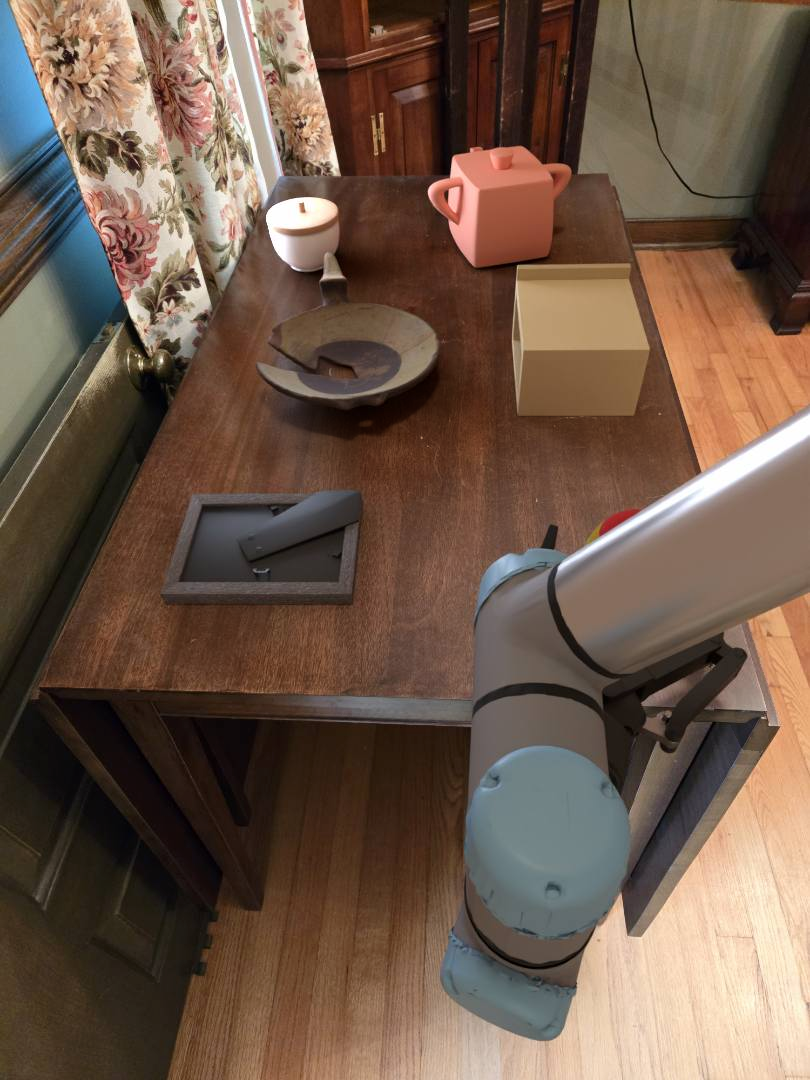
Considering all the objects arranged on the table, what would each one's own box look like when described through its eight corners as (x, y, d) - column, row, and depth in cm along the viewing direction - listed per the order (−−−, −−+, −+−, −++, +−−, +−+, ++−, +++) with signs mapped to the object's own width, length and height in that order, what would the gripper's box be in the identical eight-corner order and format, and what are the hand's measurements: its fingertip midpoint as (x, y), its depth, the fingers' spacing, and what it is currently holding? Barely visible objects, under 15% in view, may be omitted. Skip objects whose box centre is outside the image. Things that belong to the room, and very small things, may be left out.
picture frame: (363, 503, 77) (196, 504, 78) (361, 489, 75) (191, 491, 76) (352, 604, 68) (164, 604, 69) (350, 591, 66) (158, 591, 67)
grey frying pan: (237, 432, 86) (222, 378, 80) (305, 300, 105) (296, 249, 100) (424, 448, 82) (422, 393, 77) (457, 308, 102) (458, 256, 96)
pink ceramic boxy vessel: (581, 256, 110) (595, 159, 100) (442, 278, 108) (441, 181, 97) (536, 202, 123) (544, 112, 113) (410, 221, 121) (407, 130, 110)
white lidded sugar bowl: (301, 287, 108) (291, 224, 101) (261, 262, 113) (249, 201, 106) (357, 261, 112) (351, 200, 105) (316, 239, 118) (308, 179, 111)
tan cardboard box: (615, 339, 95) (630, 263, 87) (634, 416, 85) (653, 337, 77) (511, 340, 96) (517, 264, 88) (517, 416, 85) (524, 338, 78)
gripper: (402, 737, 56) (490, 546, 69) (740, 864, 49) (768, 624, 62) (397, 687, 51) (493, 489, 64) (777, 822, 44) (800, 568, 56)
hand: (629, 555), depth 63 cm, fingers open, 13 cm apart
